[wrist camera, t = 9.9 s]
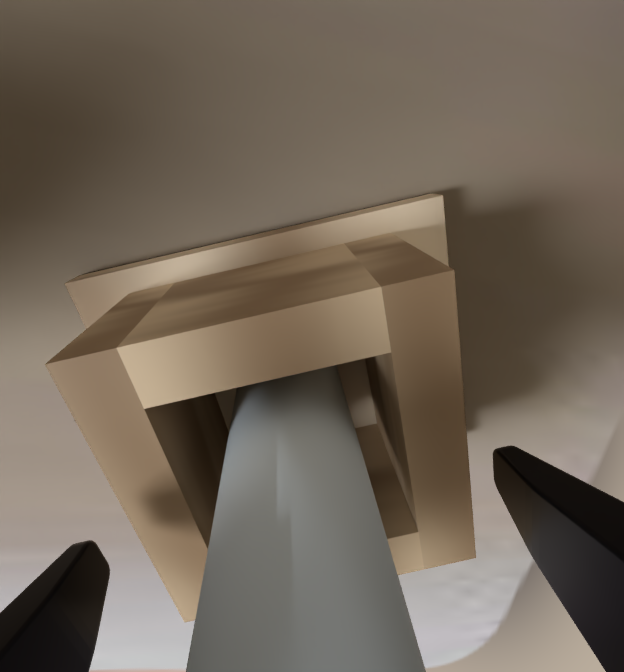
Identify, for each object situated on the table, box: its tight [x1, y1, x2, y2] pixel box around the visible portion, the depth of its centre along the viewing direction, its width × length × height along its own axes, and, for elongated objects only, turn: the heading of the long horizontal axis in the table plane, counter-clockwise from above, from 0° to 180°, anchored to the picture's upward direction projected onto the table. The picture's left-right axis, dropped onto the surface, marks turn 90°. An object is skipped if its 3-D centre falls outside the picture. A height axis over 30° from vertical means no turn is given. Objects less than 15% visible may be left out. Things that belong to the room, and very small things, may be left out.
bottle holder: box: [45, 193, 476, 622], centre depth 13 cm, size 12×10×6 cm
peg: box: [186, 365, 426, 672], centre depth 10 cm, size 4×4×10 cm
